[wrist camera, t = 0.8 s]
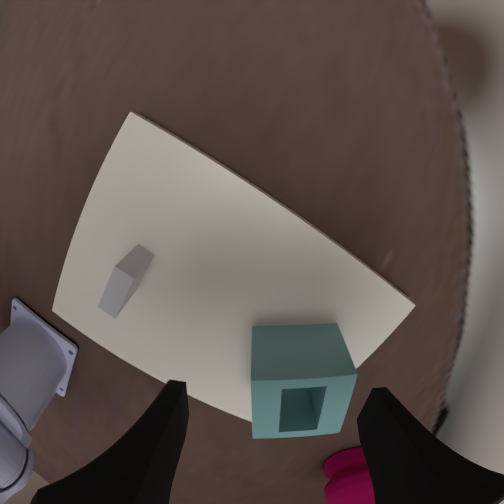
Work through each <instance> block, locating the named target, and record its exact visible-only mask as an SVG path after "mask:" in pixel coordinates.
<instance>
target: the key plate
mask: <svg viewBox="0 0 504 504" xmlns="http://www.w3.org/2000/svg"><path fill="white" fill-rule="evenodd" d="M415 306H416V305H415V304H414V303H413V302H412V301H411V300H410V299H409V297H407V296H406V295H405V294H404V293H402V292H401V291H400V290H399V289H397V288H396V287H395V286H394V285H392V284H391V283H390V282H389V281H387V280H386V279H385V278H383V277H382V276H381V275H380V274H378V273H377V272H376V271H374V270H373V269H372V268H371V267H369V266H368V265H367V264H365V263H364V262H363V261H361V260H360V259H359V258H357V257H356V256H355V255H353V254H352V253H351V252H349V251H348V250H347V249H345V248H344V247H343V246H341V245H340V244H339V243H337V242H336V241H335V240H333V239H332V238H330V237H329V236H328V235H326V234H325V233H324V232H322V231H321V230H319V229H318V228H317V227H315V226H314V225H312V224H311V223H310V222H308V221H307V220H305V219H304V218H303V217H301V216H300V215H298V214H297V213H295V212H294V211H293V210H291V209H290V208H288V207H287V206H285V205H284V204H282V203H281V202H279V201H278V200H277V199H275V198H274V197H272V196H271V195H269V194H268V193H266V192H265V191H263V190H262V189H260V188H259V187H257V186H256V185H254V184H253V183H251V182H250V181H248V180H247V179H245V178H243V177H242V176H240V175H239V174H237V173H236V172H234V171H233V170H231V169H230V168H228V167H226V166H225V165H223V164H222V163H220V162H219V161H217V160H215V159H214V158H212V157H211V156H209V155H207V154H206V153H204V152H203V151H201V150H199V149H198V148H196V147H194V146H193V145H191V144H189V143H188V142H186V141H184V140H183V139H181V138H179V137H178V136H176V135H174V134H173V133H171V132H169V131H168V130H166V129H164V128H163V127H161V126H159V125H157V124H156V123H154V122H152V121H150V120H149V119H147V118H145V117H143V116H142V115H140V114H138V113H134V112H130V113H129V115H128V117H127V118H126V120H125V122H124V124H123V125H122V127H121V129H120V131H119V133H118V135H117V137H116V138H115V140H114V142H113V144H112V146H111V148H110V150H109V152H108V154H107V156H106V158H105V160H104V162H103V164H102V167H101V169H100V171H99V173H98V175H97V177H96V180H95V182H94V184H93V186H92V189H91V191H90V193H89V196H88V198H87V201H86V203H85V206H84V208H83V211H82V213H81V216H80V219H79V221H78V224H77V227H76V229H75V232H74V235H73V238H72V241H71V244H70V247H69V250H68V253H67V256H66V259H65V263H64V266H63V269H62V273H61V276H60V280H59V284H58V288H57V291H56V295H55V299H54V304H53V308H52V311H53V312H55V313H56V314H57V315H58V316H60V317H61V318H62V319H64V320H65V321H66V322H68V323H69V324H71V325H72V326H73V327H75V328H76V329H77V330H79V331H80V332H82V333H83V334H85V335H86V336H87V337H89V338H90V339H92V340H93V341H95V342H96V343H98V344H99V345H101V346H102V347H104V348H106V349H107V350H109V351H110V352H112V353H113V354H115V355H117V356H118V357H120V358H122V359H123V360H125V361H126V362H128V363H130V364H132V365H133V366H135V367H137V368H138V369H140V370H142V371H144V372H145V373H147V374H149V375H151V376H153V377H155V378H156V379H158V380H160V381H162V382H164V383H167V381H169V380H170V379H171V380H177V381H184V382H186V386H187V394H188V395H190V396H192V397H194V398H196V399H198V400H200V401H203V402H205V403H207V404H209V405H212V406H214V407H216V408H218V409H221V410H223V411H225V412H228V413H230V414H233V415H235V416H238V417H240V418H243V419H245V420H248V421H251V422H252V405H251V346H252V326H285V325H311V324H330V323H337V324H338V326H339V329H340V331H341V333H342V336H343V338H344V341H345V343H346V346H347V348H348V351H349V353H350V356H351V358H352V361H353V363H354V366H355V368H357V367H359V366H360V365H361V364H362V363H363V362H364V361H365V360H366V359H367V358H368V357H369V356H370V355H371V354H372V353H373V352H374V351H375V350H376V349H377V348H378V347H379V346H380V345H381V344H382V343H383V341H384V340H385V339H386V338H387V337H388V336H389V335H390V334H391V333H392V332H393V331H394V330H395V329H396V328H397V326H398V325H399V324H400V323H401V322H402V321H403V320H404V319H405V317H406V316H407V315H408V314H409V313H410V312H411V311H412V309H413V308H414V307H415Z"/></svg>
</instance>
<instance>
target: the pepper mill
mask: <svg viewBox="0 0 504 504" xmlns="http://www.w3.org/2000/svg"><path fill="white" fill-rule="evenodd" d="M324 469H325V475H326V477H327V478H328V479H330V480H329V482H328V483H327V484H326V486H325V489H324V495H325V499H326V502H327V504H375V498H374V490H373V485H372V481H371V477H370V474H369V470H368V467H367V463H366V460H365V456H364V453H363V449H362V447H356V448H351V449H347V450H344V451H341V452H339V453H337V454H335V455H333V456H331V457H330V458H329V459H328V460H326V462H325V464H324Z"/></svg>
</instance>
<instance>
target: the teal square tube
mask: <svg viewBox="0 0 504 504" xmlns="http://www.w3.org/2000/svg"><path fill="white" fill-rule="evenodd" d="M357 375H358V373H357V371H356V368H355V366H354V363H353V361H352V358H351V356H350V353H349V351H348V348H347V346H346V343H345V341H344V338H343V336H342V333H341V331H340V329H339V326H338V324H337V323H330V324H311V325H285V326H252V346H251V405H252V433H253V438H285V437H301V436H313V435H323V434H332V433H339V432H340V430H341V427H342V424H343V421H344V418H345V415H346V412H347V409H348V406H349V402H350V399H351V396H352V392H353V389H354V386H355V382H356V379H357Z"/></svg>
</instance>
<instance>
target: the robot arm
mask: <svg viewBox="0 0 504 504" xmlns="http://www.w3.org/2000/svg"><path fill="white" fill-rule="evenodd" d="M77 352H78V348H77V346H76V345H75V344H74V343H73V342H71V341H70V340H68V339H67V338H66V337H64V336H63V335H62V334H60V333H59V332H58V331H56V330H55V329H54V328H52V327H51V326H50V325H48V324H47V323H46V322H45V321H43V320H42V319H41V318H40V317H38V316H37V315H36V314H35V313H34V312H32V311H31V310H30V309H29V308H28V307H27V306H25V305H24V304H23V303H22V302H21V301H20V300H18V299H17V298H14V299H13V300H12V307H11V321H10V326H9V327H7V328H6V329H5V330H4V331H3V332H2V333H1V334H0V504H4V503H5V502H6V500H7V499H8V498H9V497H11V496H12V495H13V494H14V493H16V492H18V491H20V490H21V489H22V488H23V487H24V486H25V485H26V484H27V483H28V481H29V479H30V477H31V474H32V471H33V462H34V458H33V452H32V450H31V448H30V447H29V445H30V444H31V442H32V440H33V438H32V437H31V436H30V435H29V434H28V431H30V430H31V429H33V428H34V426H35V425H36V424H37V422H38V420H39V419H40V417H41V415H42V414H43V412H44V411H45V409H46V407H47V406H48V404H49V403H50V401H51V400H52V398H53V396H54V395H55V393H58V394H59V395H61V396H65V394H66V391H67V387H68V383H69V379H70V376H71V372H72V369H73V365H74V362H75V358H76V355H77ZM188 418H189V409H188V398H187V386H186V382H184V381H177V380H171V379H170V380H169V381H167V383H166V384H165V386H164V387H163V389H162V390H161V392H160V393H159V394H158V396H157V397H156V399H155V400H154V401H153V402H152V404H151V405H150V406H149V407H148V409H147V410H146V411H145V412H144V413H143V415H142V416H141V417H140V418H139V419H138V421H137V422H136V423H135V424H134V425H133V426H132V427H131V428H130V429H129V430H128V431H127V432H126V433H125V434H124V435H123V436H122V437H121V438H120V439H119V440H118V441H117V442H116V443H114V444H113V445H112V446H111V447H110V448H109V449H107V450H106V451H105V452H104V453H102V454H101V455H100V456H98V457H97V458H96V459H94V460H93V461H92V462H90V463H89V464H87V465H86V466H84V467H82V468H81V469H79V470H77V471H76V472H74V473H72V474H70V475H69V476H67V477H65V478H63V479H61V480H59V481H57V482H54V483H52V484H50V485H47V486H45V487H43V488H40V489H38V491H37V492H36V494H35V495H34V497H33V499H32V501H31V503H30V504H169V498H170V491H171V486H172V482H173V478H174V475H175V471H176V468H177V464H178V461H179V457H180V454H181V451H182V447H183V444H184V440H185V436H186V430H187V424H188ZM357 424H358V431H359V438H360V442H361V446H362V449H363V453H364V456H365V460H366V463H367V467H368V470H369V474H370V477H371V481H372V485H373V490H374V498H375V504H499V503H500V502H501V501H503V500H504V475H503V474H500V473H497V472H494V471H491V470H488V469H486V468H483V467H481V466H479V465H477V464H475V463H473V462H471V461H469V460H467V459H466V458H464V457H463V456H461V455H459V454H458V453H456V452H454V451H453V450H452V449H450V448H449V447H448V446H446V445H445V444H444V443H442V442H441V441H440V440H438V439H437V438H436V437H435V436H434V435H433V434H432V433H430V432H429V431H428V430H427V429H426V428H425V427H424V426H423V425H422V424H421V423H420V422H419V421H418V420H417V419H416V418H415V417H414V416H413V415H412V414H411V413H410V412H409V411H408V410H407V409H406V408H405V407H404V406H403V405H402V404H401V403H400V402H399V400H398V399H397V398H396V397H395V396H394V395H393V394H392V393H391V392H390V391H389V390H388V389H387V388H386V387H382V388H373V389H372V391H371V393H370V395H369V397H368V399H367V401H366V403H365V405H364V407H363V409H362V410H361V412H360V414H359V416H358V418H357Z"/></svg>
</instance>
